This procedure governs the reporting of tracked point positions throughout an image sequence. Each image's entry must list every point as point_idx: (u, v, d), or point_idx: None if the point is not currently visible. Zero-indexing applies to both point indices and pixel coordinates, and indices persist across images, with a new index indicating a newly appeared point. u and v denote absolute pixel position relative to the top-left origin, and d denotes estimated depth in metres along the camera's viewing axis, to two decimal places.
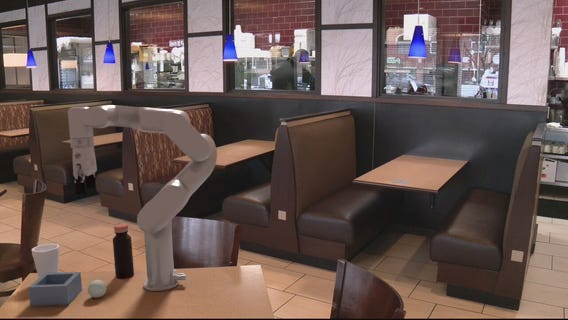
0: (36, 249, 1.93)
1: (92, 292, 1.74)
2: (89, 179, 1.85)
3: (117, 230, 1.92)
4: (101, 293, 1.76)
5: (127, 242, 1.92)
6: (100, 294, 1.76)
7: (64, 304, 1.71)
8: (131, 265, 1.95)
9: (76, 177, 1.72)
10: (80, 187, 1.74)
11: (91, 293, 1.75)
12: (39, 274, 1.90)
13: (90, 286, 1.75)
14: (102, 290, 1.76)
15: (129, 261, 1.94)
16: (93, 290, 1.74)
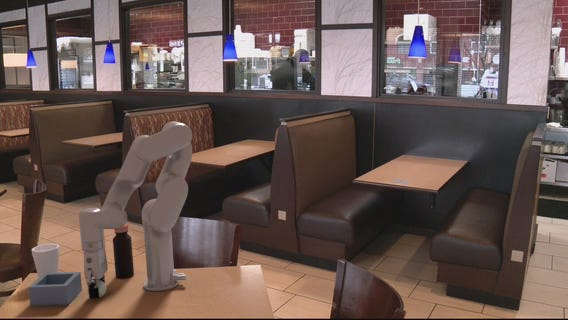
0: (36, 249, 1.93)
1: None
2: None
3: (117, 230, 1.92)
4: (101, 293, 1.76)
5: (127, 242, 1.92)
6: (100, 294, 1.76)
7: (64, 304, 1.71)
8: (131, 265, 1.95)
9: (90, 285, 1.71)
10: (93, 292, 1.73)
11: None
12: (39, 274, 1.90)
13: None
14: (102, 290, 1.76)
15: (129, 261, 1.94)
16: None
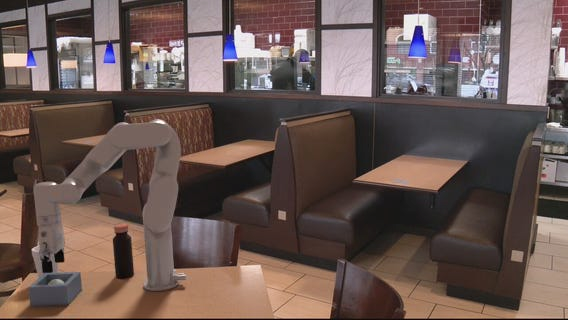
0: (36, 249, 1.93)
1: None
2: (57, 253, 1.80)
3: (117, 230, 1.92)
4: None
5: (127, 242, 1.92)
6: None
7: (64, 304, 1.71)
8: (131, 265, 1.95)
9: (42, 257, 1.67)
10: (47, 266, 1.70)
11: None
12: (39, 274, 1.90)
13: None
14: None
15: (129, 261, 1.94)
16: None
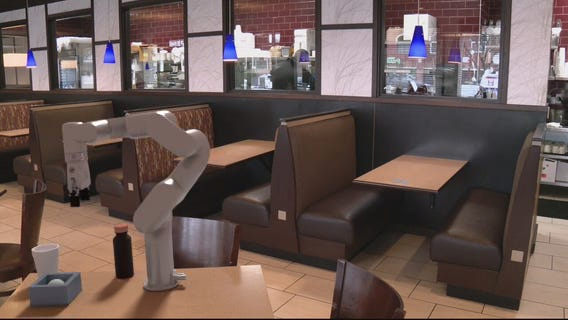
0: (36, 249, 1.93)
1: None
2: (83, 192, 1.90)
3: (117, 230, 1.92)
4: None
5: (127, 242, 1.92)
6: None
7: (64, 304, 1.71)
8: (131, 265, 1.95)
9: (70, 191, 1.77)
10: (74, 200, 1.80)
11: None
12: (39, 274, 1.90)
13: None
14: None
15: (129, 261, 1.94)
16: None
